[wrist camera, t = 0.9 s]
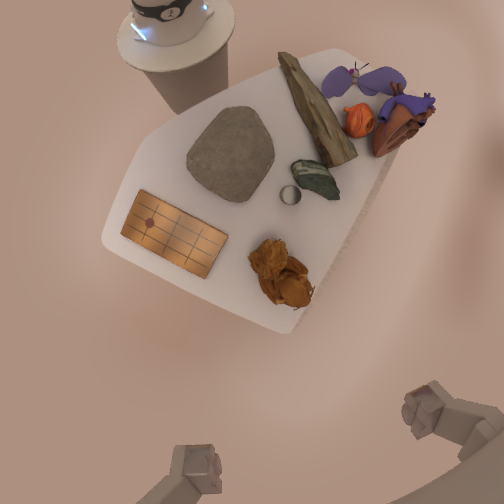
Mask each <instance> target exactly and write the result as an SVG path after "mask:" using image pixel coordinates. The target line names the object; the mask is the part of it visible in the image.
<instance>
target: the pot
mask: <svg viewBox="0 0 504 504" xmlns="http://www.w3.org/2000/svg"><path fill="white" fill-rule="evenodd" d="M343 110H344V111H345V112H347V114H348V115H347V117H346V126H347V127H343V129H344V130H345V131H346V132H348V133H349V134H350V135H351V136H352V137H353V138H360V137H363V136H365V135H366V134H368V133H370V132H372V130H373V128H374V126H375V118H374V116H373V113H372V110H371V109H370V107H369V106H368V105H367V104H366V103H360V104H357V105H355V106H353V107H352V108H344V109H343Z"/></svg>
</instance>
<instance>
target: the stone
mask: <svg viewBox="0 0 504 504" xmlns="http://www.w3.org/2000/svg"><path fill="white" fill-rule="evenodd" d="M273 162H274V148H273V144H272V140H271V138H270V135H269V133H268V131H267V130H266V128H265V126H264V125H263V123H262V121H261V119H260V118H259V116H258V114H257V113H256V112H255V111H254V110H253V109H252V108H250V107H243V106H240V107H232V108H226V109H224V110H222V111H221V112H220V113H219V114H218V115H217V117H216V118H215V119H214V120H213V121H212V122H211V123H210V125H209V126H208V127H207V128H206V129H205V131H204V132H203V133H202V134H201V136H200V137H199V138H198V140H197V141H196V142H195V144H194V145H193V146H192V148H191V149H190V151H189V152H188V154H187V162H186V164H187V169H188V171H190V172H191V174H192V176H193V177H194V178H195V179H196V180H197V181H198V182H200V183H201V184H202V185H203V186H205V187H206V188H207V189H209V190H210V191H213V192H214V193H216V194H218V195H219V196H221V197H222V198H224V199H225V200H228V201H231V202H239V203H240V202H243V201H247V200H248V199H249V198H250V196H251V195H252V194H253V192H254V191H255V190H256V188H257V187H258V186H259V184H260V183H261V181H262V180H263V179H264V177H265V176H266V174H267V172H268V171H269V169H270V167H271V166H272V164H273Z"/></svg>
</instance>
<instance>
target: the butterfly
mask: <svg viewBox="0 0 504 504" xmlns="http://www.w3.org/2000/svg"><path fill="white" fill-rule="evenodd" d="M368 64H369V63H368ZM368 64H366V65H368ZM366 65H365V66H366ZM365 66H363V67H365ZM363 67H362V68H363ZM362 68H361V69H362ZM359 70H360V69H359ZM359 70H358V69H356V61H355V69H350V70H349V71H348V70H347V69H346V68H345V67H343V66H340V67H337V68H335V69H334V70H332V71H331V72H330V73H329V74H328V75H327V76H326V78H325V79H324V81H323V83H322V88H321V90H322V94H323V95H324V96H325V97H326V98H329V97H331V96H333V95H335V96H336V97H341V96H342V95H343V94H344V93H345V92H346V91H347V90H348V89H349V88H350V86H351V85H352V84H353V83H356V82H357V84H358V86H359V88H360V89H361V91H362V92H363V93H364V94H365V95H368V96H374V95H376V94H377V93H378V91H379V92H381V93H383V94H386V95H389V96H393V95H394V92H393V89H392V87H391V86H390V84H389V83H390V82H392V81H393V82H394V83H395V85H396V87H397V83H401V84H402V89H403V90H404V89H405V87H406V80H405V78H404V77H403V75H402V74H401V73H399V72H398V71H397V70H395V69H393V68H391V67H382V68H379V69H377V70H374V71H372V72H369V73H366V74H364V75H362V76H360V77H358V76H359ZM349 73H350V74H349Z"/></svg>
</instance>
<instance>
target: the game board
mask: <svg viewBox="0 0 504 504" xmlns="http://www.w3.org/2000/svg"><path fill="white" fill-rule="evenodd" d="M120 234H122V235H123V236H125V237H127V238H129V239H130V240H132V241H134V242H136V243H138V244H139V245H141V246H143V247H145V248H147V249H148V250H150V251H152V252H154V253H156V254H158V255H159V256H161V257H163V258H165V259H167V260H169V261H171V262H172V263H174V264H176V265H178V266H180V267H182V268H184V269H186V270H188V271H189V272H191V273H193V274H195V275H197V276H199V277H201V278H203V279H205V278H206V276H207V274H208V273H209V271H210V269H211V267H212V265H213V263H214V261H215V259H216V257H217V256H218V254H219V252H220V250H221V248H222V246H223V244H224V243H225V241H226V239H227V237H228V235H227V234H225V233H223V232H221V231H219V230H218V229H216V228H214V227H212V226H210V225H208V224H206V223H204V222H202V221H201V220H199V219H197V218H195V217H193V216H191V215H189V214H187V213H186V212H184V211H182V210H180V209H178V208H176V207H174V206H172V205H170V204H169V203H167V202H165V201H163V200H161V199H159V198H157V197H155V196H153V195H151V194H150V193H148V192H146V191H144V190H142V189H140V190H139V192H138V194H137V196H136V199H135V201H134V203H133V205H132V207H131V210H130V212H129V214H128V216H127V219H126V221H125V223H124V226H123V228H122V231H121V233H120Z"/></svg>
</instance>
